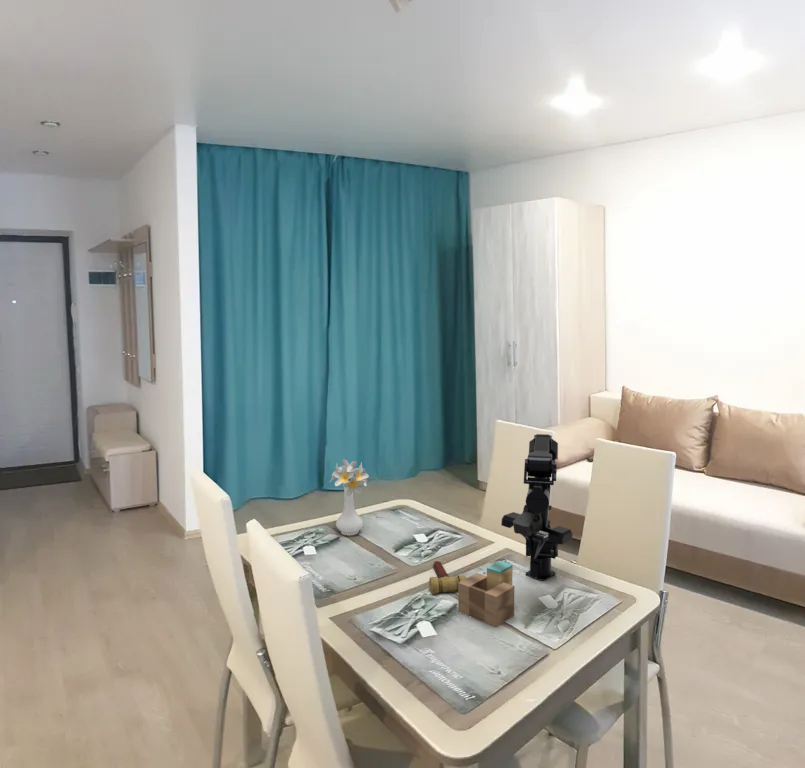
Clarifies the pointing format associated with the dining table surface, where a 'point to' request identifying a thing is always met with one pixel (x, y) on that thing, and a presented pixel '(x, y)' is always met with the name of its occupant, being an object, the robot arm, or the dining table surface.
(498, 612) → the socket block
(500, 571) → the block
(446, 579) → the gavel
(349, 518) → the flower vase
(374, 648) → the dining table surface
